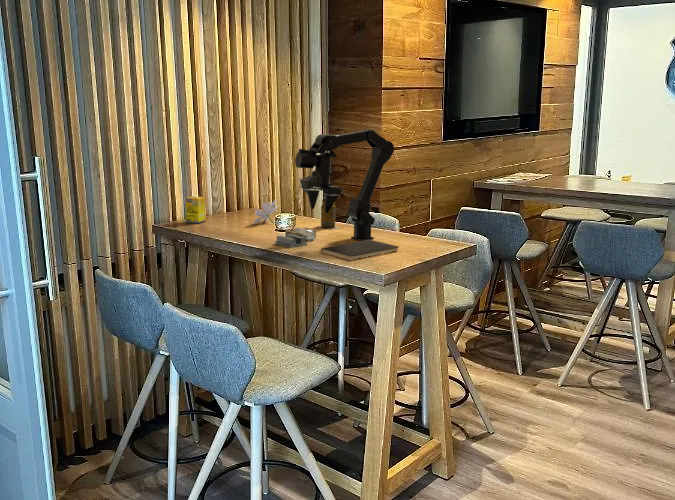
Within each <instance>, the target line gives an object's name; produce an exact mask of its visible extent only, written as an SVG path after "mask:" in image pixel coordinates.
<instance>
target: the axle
mask: <svg viewBox="0 0 675 500" xmlns="http://www.w3.org/2000/svg"><path fill="white" fill-rule="evenodd" d="M292 231H295V232H299V236H301V237H304V238H305V241H308V242H313V241H314V240H315V239H316V237H315V232H313V231H310V230H306V229H303V227H301V228H300V227H299V226H298V227H295V228H294V229H293V230H292Z"/></svg>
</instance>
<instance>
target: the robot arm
mask: <svg viewBox="0 0 675 500" xmlns="http://www.w3.org/2000/svg"><path fill="white" fill-rule="evenodd" d="M361 142H366V143H367V144H368V146H369V147H370V148H372V149H371V162H370V165H369V167H368V170H367V172H366V175H365V178H364V181H363V183H362V185H361V188H360V189H359V190H360V191H359V193H358V195H357V196H356V197H351V199H350V201H349V202H350V203H349V204H348V206H347V213H348V216H349V217H350V219H351V220H352V222H354V224H353V236H351V239H354V240H358V241H365V240H373V239H375V236H372V225H374V223H375V220H376V219H375V217H374V216H372V214H371V213H370V212H371V198H372V196H373V193H374V190H375V188H376V186H377V183H378V181H379V178H380V175H381V172H382V170H383V168H384V166H385V164H386V163H387V162H388V161H390V159H391V157H392V156H393V154H394V152H395V147H394V144H393V142H391V141H390V140H387V139H385V138H384V137H382V136H381V135H380V134H378V133H377V132H376V131H375V130H373V129H367V128H366V129H363V130H359V131H352V132H348V133H347V132H345V133H341V134H324V133H323V134H322V133H321V134H318V135H316V137H315V140H314V142H313V143H312V145H311V146H310V147H309V149H303V148H299V149H298V152H297V153H296V156H295V158H294V163H295V164H294V165H295V168H298V169H314V170H312V171H311V174H310V175H308V176H305V177H303V178H300V179H299V182H300V185H301V186H300V189H302V191H303V192H304V193H305V194H306V195H307V197H308V202H309V206H310V209H311V210H314V209H315V207H316V205H317V201H318V198H319V194H320V191H322V192H323V194H322V197H323V198H325V213H328V212H329V210H330V209H331V207H332V205H333V203H334V202H336V200H338V198H339V197H340V196H342V194H343V189H342V187H341V186H337V185H332V183H330V179H331V176H333V173H334V172H332V171H331V166H332V158H338V155H337V154H336V153H335V151H334V150H337V149H338V148H339V147H341V146H344V145H350V144H351V145H352V144H356V143H361Z"/></svg>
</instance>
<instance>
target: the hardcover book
mask: <svg viewBox="0 0 675 500" xmlns="http://www.w3.org/2000/svg"><path fill="white" fill-rule="evenodd" d="M399 248H400V246H399V245H393V244H389V243H385V242H382V241H377V240H373V239H368V240H363V241H362V240H358V241H353V242H349V243H343V244H338V245H332V246H326V247H322V248H321V250H320V251H321V253H324V254H327V255H331V256H333V255H334V257H337V256H338V257H337V258H340V257H342V258H341V259H344V258H345V259H344V260H347V259H348V260H347V261H355V260H354V259H357V260H359V259H358V258H362V259H365V258H364V257H367V258H369V257H368V256H372V257H374V256H373V255H377V256H379V255H378V254H382V253H387V254H389V253H388V252H392V251H397V250H398V251H399ZM398 251H397V252H398ZM392 253H393V252H392ZM382 255H383V254H382Z"/></svg>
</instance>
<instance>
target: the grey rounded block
mask: <svg viewBox="0 0 675 500" xmlns="http://www.w3.org/2000/svg"><path fill="white" fill-rule="evenodd" d="M302 229H306V230H310V231H313V232H315V238H317V229H314V228H310V227H308V226H307V227H302ZM287 234H293V235H297V236H299V232H295V231H293V230H291V229H288V230H286V229H285V231H284V235H285V237H287Z"/></svg>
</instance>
